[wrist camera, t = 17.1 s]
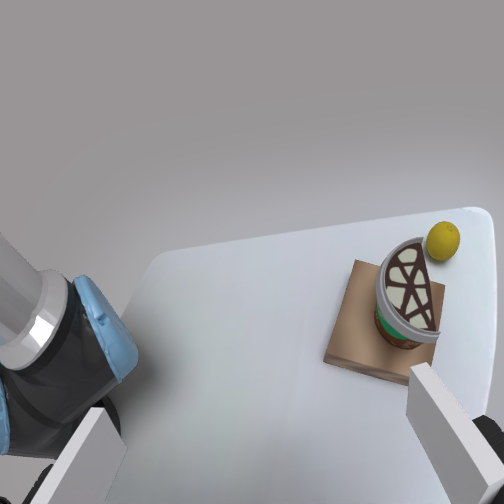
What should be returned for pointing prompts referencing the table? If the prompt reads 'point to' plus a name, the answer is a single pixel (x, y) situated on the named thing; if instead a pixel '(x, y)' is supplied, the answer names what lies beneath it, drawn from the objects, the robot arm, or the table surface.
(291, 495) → the table surface
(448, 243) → the lemon
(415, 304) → the food container
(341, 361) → the square wooden plinth
